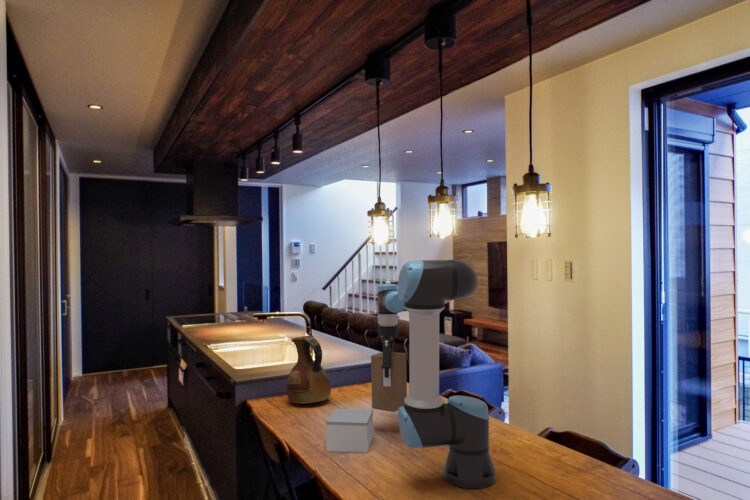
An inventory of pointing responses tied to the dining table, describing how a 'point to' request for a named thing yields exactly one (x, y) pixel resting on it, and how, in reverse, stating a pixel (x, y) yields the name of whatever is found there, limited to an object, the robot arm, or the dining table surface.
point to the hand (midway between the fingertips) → (389, 381)
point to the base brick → (349, 430)
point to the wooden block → (397, 392)
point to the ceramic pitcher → (308, 374)
